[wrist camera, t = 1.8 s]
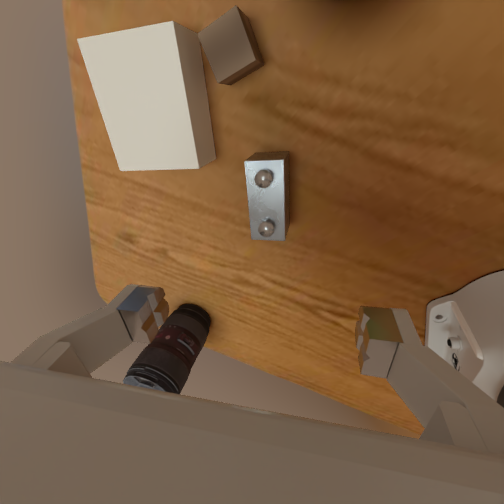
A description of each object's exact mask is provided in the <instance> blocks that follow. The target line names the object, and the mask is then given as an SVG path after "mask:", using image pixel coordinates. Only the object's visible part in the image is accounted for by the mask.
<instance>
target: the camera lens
mask: <svg viewBox="0 0 504 504" xmlns="http://www.w3.org/2000/svg"><path fill="white" fill-rule="evenodd" d="M209 326H210V317H209V315H208V314H207V313H206V312H205V311H204V310H203V309H202V308H200V307H198V306H196V305H193V304H184V305H182V306H180V307H179V308H178V309H177V310H175V311H174V312H173V313H172V314H171V315H170V316H169V317H168V318H167V319H166V321H165V323H164V324H163V325H162V326H161V328H160V329H159V332H158V333H157V335H156V336H155V338H154V339H153V341H152V342H151V344H149V345H148V346H147V347H146V348H145V349H144V350H143V351H142V352H141V354H140V355H139V356H138V358H137V359H136V361H135V362H134V363H133V364H132V366H131V367H130V368H129V370H128V372H127V375H126V377H125V378H124V380H123V384H127V385H132V386H137V387H143V388H148V389H153V390H159V391H164V392H170V393H175V394H180V392H181V390H182V388H183V387H184V385H185V383H186V381H187V379H188V376H189V374H190V371H191V368H192V366H193V364H194V362H195V360H196V358H197V356H198V354H199V353H200V351H201V349H202V347H203V346H204V344H205V342H206V339H207V336H208V333H209Z"/></svg>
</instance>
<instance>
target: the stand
mask: <svg viewBox="0 0 504 504" xmlns="http://www.w3.org/2000/svg"><path fill="white" fill-rule="evenodd" d="M197 34H198V33H196V32H194V31H192V30H190V29H188V28H186V27H184V26H182V25H180V24H178V23H176V22H174V21H170V22H165V23H159V24H154V25H149V26H144V27H138V28H133V29H128V30H122V31H117V32H112V33H107V34H101V35H96V36H91V37H85V38H80V39H77V40H78V44H79V47H80V50H81V53H82V56H83V59H84V62H85V65H86V68H87V71H88V74H89V77H90V80H91V83H92V86H93V89H94V92H95V95H96V98H97V101H98V104H99V108H100V111H101V114H102V117H103V120H104V123H105V126H106V129H107V132H108V135H109V138H110V141H111V144H112V147H113V150H114V153H115V156H116V159H117V162H118V165H119V168H120V171H134V170H168V169H199V168H201V167H203V166H205V165H206V164H208V163H210V162H212V161H214V160H215V159H216V153H215V146H214V139H213V132H212V125H211V118H210V111H209V104H208V97H207V90H206V83H205V75H204V68H203V61H202V54H201V47H200V40H199V37H198V35H197Z"/></svg>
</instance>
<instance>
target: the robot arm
mask: <svg viewBox="0 0 504 504" xmlns="http://www.w3.org/2000/svg"><path fill="white" fill-rule="evenodd" d="M164 296H165V293H164V290H163V288H160V287H153V286H145V285H134V284H130V285H127V286H126V287H125V288H124V289H123V290H122V291H121V292H120V293H119V294H118V295H117V296H116V297H115V298H114V299H113V300H112V301H111V302H110V303H109V304H108V305H107V306H106V307H105V308H100V309H98V310H96V311H94V312H92V313H90V314H87V315H85V316H83V317H81V318H79V319H77V320H75V321H72V322H70V323H68V324H66V325H64V326H62V327H60V328H58V329H55V330H53V331H51V332H49V333H47V334H45V335H43V336H40V337H39V338H38V339H37V340H35V341H34V342H33V343H32V344H31V345H30V346H29V347H27V348H26V349H25V350H24V351H23V352H22V353H21V354H20V355H19V356H17V357H16V358H15V359H14V360H13V361H11V363H9V362H3V361H0V504H504V271H500V272H496V273H493V274H490V275H487V276H485V277H482V278H480V279H478V280H476V281H474V282H472V283H470V284H468V285H467V286H465V287H464V288H462V289H461V290H459V291H458V292H456V293H454V294H452V295H448V296H445V297H442V298H439V299H436V300H433V301H431V302H430V303H429V304H428V305H427V313H426V332H425V346H423V345H422V343H421V341H420V338H419V336H418V334H417V331H416V329H415V327H414V324H413V322H412V320H411V318H410V315H409V313H408V311H407V310H406V309H397V308H382V307H370V306H360V308H359V313H358V314H359V321H357V322H356V328H355V342H356V347H357V349H358V350H359V355H358V361H359V366H360V372H361V374H363V375H369V376H375V377H381V378H386V379H387V381H388V382H389V383H390V385H391V386H392V387H393V388H394V390H395V391H396V392H397V394H398V395H399V396H400V397H401V399H402V400H403V401H404V402H405V404H406V405H407V406H408V408H409V409H410V410H411V411H412V413H413V414H414V415H415V416H416V418H417V419H418V420H419V422H420V423H421V424H422V425H423V427H424V428H425V430H424V431H423V433H422V435H421V437H420V438H419V439H416V438H411V437H405V436H400V435H394V434H389V433H384V432H378V431H373V430H368V429H362V428H357V427H352V426H347V425H341V424H336V423H330V422H325V421H320V420H314V419H309V418H304V417H298V416H293V415H288V414H282V413H276V412H271V411H266V410H260V409H255V408H250V407H244V406H239V405H234V404H228V403H223V402H218V401H212V400H207V399H202V398H196V397H191V396H185V395H180V394H175V393H170V392H164V391H159V390H153V389H148V388H143V387H137V386H132V385H127V384H121V383H116V382H111V381H105V380H100V379H94V378H92V376H91V375H90V373H91V372H93V371H94V370H96V369H97V368H98V367H100V366H101V365H103V364H104V363H105V362H106V361H108V360H109V359H111V358H112V357H113V356H115V355H116V354H118V353H119V352H120V351H122V350H123V349H124V348H126V347H127V346H129V345H130V344H131V343H132V342H141V343H149V344H151V342H152V341H153V339H154V338H155V336H156V335H157V333H158V332H159V330H158V327H159V326H161V325H162V324H164V323H165V321H166V319H167V317H168V314H169V305H168V302H167V301H166V300H165V299H164ZM437 315H438V316H437Z"/></svg>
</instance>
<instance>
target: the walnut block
mask: <svg viewBox="0 0 504 504" xmlns="http://www.w3.org/2000/svg"><path fill="white" fill-rule="evenodd" d="M197 35H198V37H199V40H200V42H201V44H202V47H203V49H204V51H205V54H206V56H207V59H208V61H209V63H210V66H211V68H212V71H213V73H214V75H215V78H216V80H217V82H218V83H219V84H226V85H232V84H233V83H235V82H237V81H238V80H240V79H242V78H243V77H245V76H247V75H248V74H250V73H252V72H254V71H255V70H257V69H259V68H260V67H262V66H264V62H263V59H262V56H261V53H260V50H259V48H258V45H257V42H256V39H255V36H254V33H253V30H252V27H251V25H250V22H249V19H248V17H247V16H246V15H245V14H244V13H243V12H242V11H241V10H240V9H239V8H238V7H237V6H234V7H233V8H232V9H230V10H229V11H228V12H226V13H225V14H224V15H222V16H221V17H220V18H218V19H217V20H215V21H214V22H213V23H211V24H210V25H209V26H207V27H206V28H205V29H203V30H202V31H201V32H199V33H198V34H197Z"/></svg>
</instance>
